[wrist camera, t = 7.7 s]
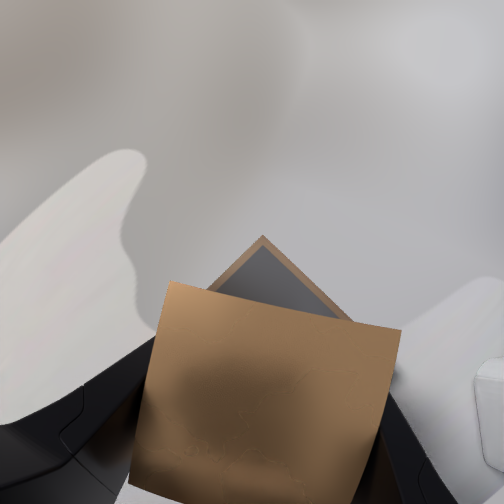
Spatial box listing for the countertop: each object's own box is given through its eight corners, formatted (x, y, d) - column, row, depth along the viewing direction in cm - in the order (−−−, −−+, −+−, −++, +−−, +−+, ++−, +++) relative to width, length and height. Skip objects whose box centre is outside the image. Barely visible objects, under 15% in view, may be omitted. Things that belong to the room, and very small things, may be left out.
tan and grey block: (301, 433, 14) (339, 527, 5) (196, 410, 14) (128, 483, 6) (326, 332, 15) (401, 330, 6) (220, 309, 16) (169, 280, 7)
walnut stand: (262, 471, 16) (262, 487, 14) (145, 359, 19) (130, 362, 16) (380, 358, 18) (395, 361, 16) (262, 244, 20) (262, 233, 18)
